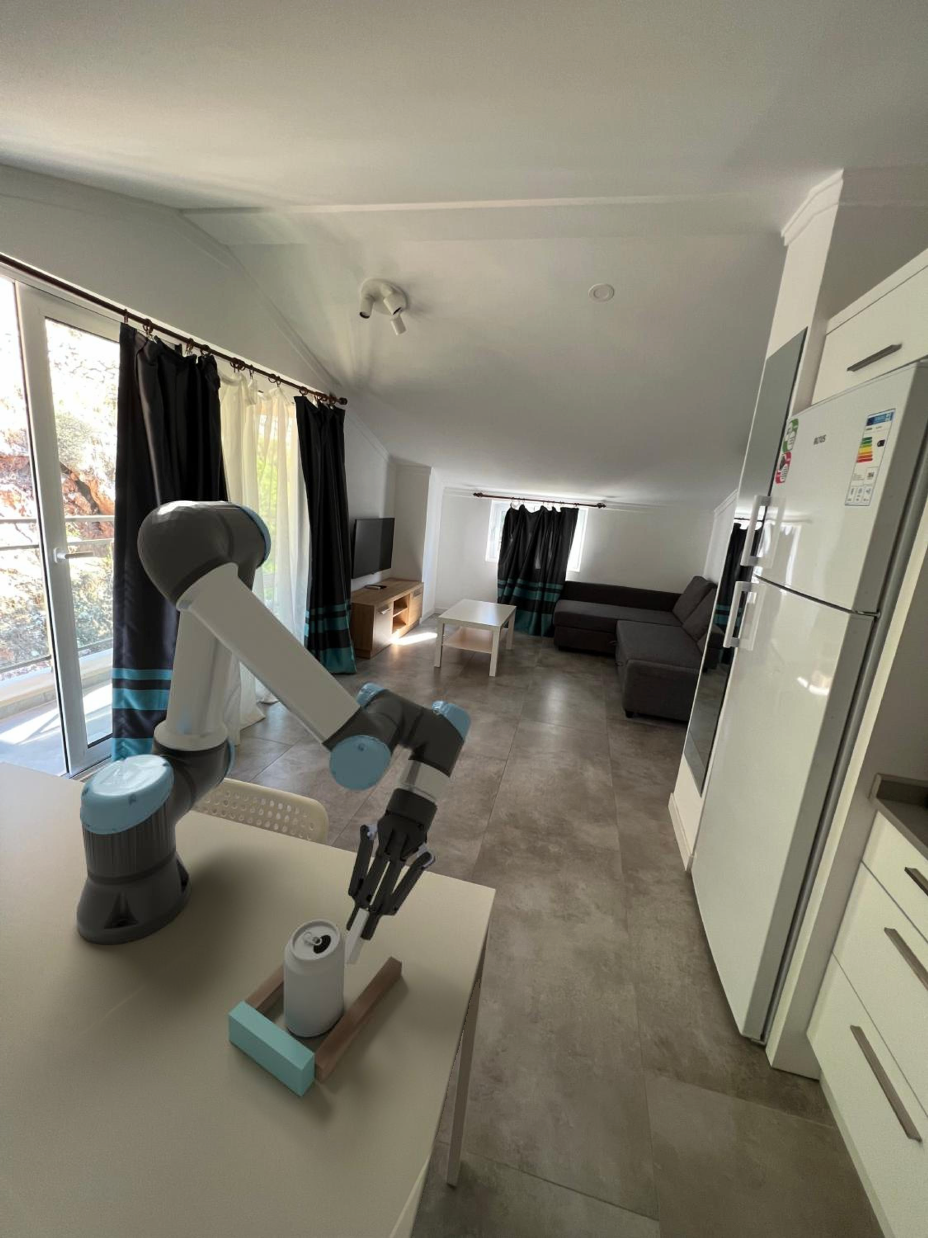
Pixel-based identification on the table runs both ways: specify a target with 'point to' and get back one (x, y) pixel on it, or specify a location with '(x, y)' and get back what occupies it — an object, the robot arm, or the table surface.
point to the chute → (350, 1021)
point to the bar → (272, 1048)
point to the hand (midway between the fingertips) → (346, 961)
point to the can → (313, 978)
